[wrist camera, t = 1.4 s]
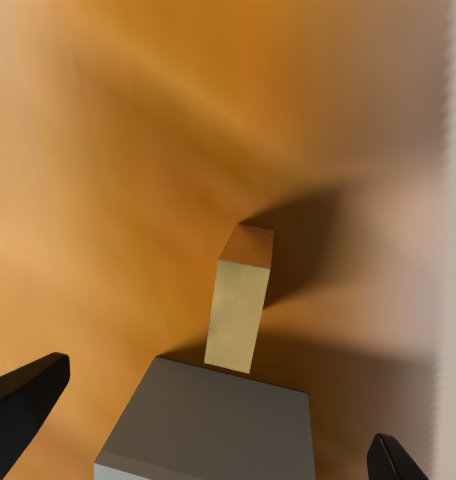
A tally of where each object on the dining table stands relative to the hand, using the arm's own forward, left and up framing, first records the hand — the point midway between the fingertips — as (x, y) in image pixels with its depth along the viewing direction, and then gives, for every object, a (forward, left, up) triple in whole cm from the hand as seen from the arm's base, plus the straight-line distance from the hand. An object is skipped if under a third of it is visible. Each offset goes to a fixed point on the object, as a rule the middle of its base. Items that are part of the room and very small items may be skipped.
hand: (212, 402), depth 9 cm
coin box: (0, -12, -9) cm, 15 cm away
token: (0, 0, -9) cm, 9 cm away
